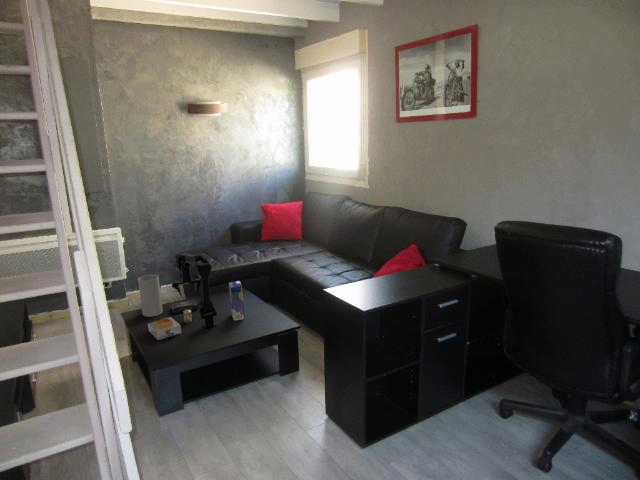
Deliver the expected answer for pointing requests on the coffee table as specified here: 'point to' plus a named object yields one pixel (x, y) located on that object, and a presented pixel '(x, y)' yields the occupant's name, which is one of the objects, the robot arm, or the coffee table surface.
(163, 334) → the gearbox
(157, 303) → the cylinder vase
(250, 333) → the coffee table surface
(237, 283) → the beverage box
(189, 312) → the brass can
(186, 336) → the coffee table surface
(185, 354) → the coffee table surface
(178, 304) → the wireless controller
